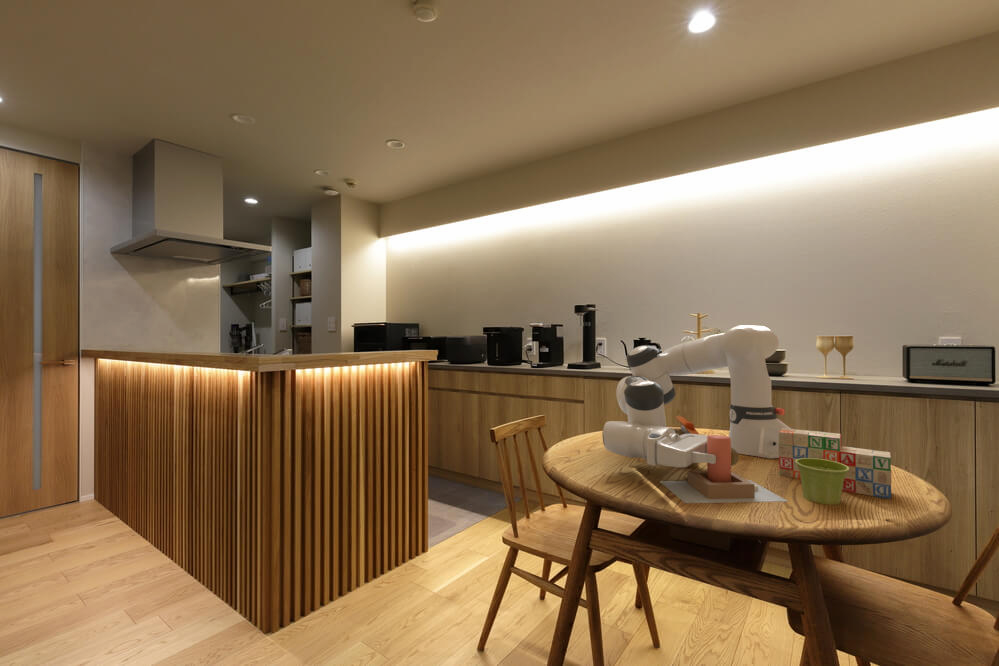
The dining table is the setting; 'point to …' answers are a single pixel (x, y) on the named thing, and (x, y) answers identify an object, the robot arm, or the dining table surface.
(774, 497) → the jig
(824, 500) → the plant pot
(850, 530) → the dining table surface
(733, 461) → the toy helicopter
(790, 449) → the stack of blocks
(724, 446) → the pink cylinder peg
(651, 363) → the robot arm
